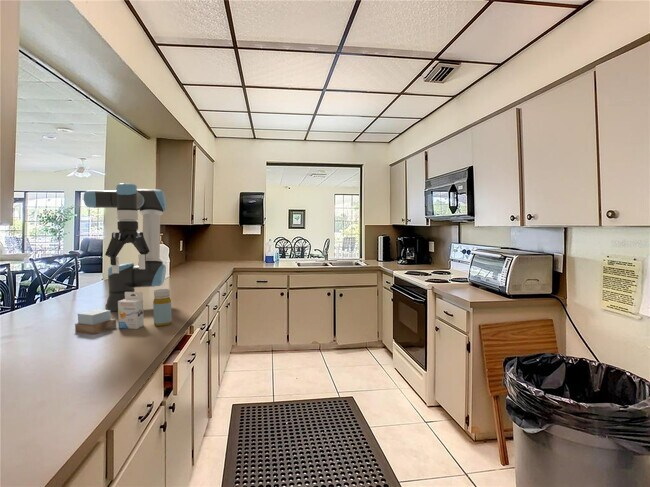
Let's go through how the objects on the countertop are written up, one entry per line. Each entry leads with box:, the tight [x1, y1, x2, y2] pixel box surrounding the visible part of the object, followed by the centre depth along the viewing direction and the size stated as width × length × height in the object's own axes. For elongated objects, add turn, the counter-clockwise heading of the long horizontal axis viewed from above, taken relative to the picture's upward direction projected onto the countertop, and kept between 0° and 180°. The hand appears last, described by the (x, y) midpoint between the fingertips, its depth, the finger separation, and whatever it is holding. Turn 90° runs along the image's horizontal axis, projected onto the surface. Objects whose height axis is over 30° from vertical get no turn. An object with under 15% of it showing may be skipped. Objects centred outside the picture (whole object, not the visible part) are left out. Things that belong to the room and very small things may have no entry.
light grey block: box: [77, 308, 112, 325], centre depth 140 cm, size 8×8×4 cm
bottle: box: [152, 288, 172, 327], centre depth 149 cm, size 7×7×15 cm
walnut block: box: [74, 318, 117, 335], centre depth 141 cm, size 10×10×4 cm
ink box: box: [117, 291, 145, 330], centre depth 144 cm, size 8×5×15 cm, turn 86°
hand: (129, 271), depth 143 cm, fingers open, 13 cm apart
